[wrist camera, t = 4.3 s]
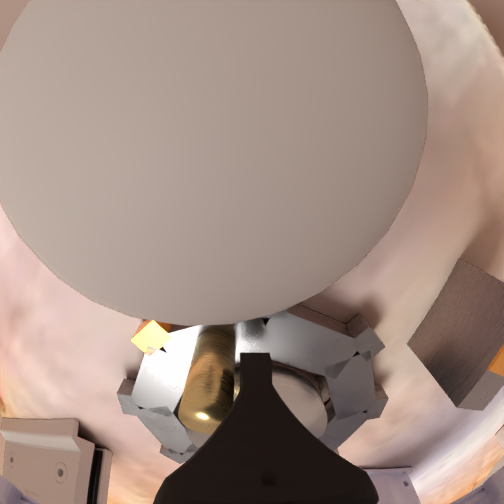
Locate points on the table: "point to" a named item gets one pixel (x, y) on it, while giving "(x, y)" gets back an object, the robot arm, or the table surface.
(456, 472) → the table surface
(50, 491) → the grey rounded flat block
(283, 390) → the hub
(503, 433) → the eye dropper bottle
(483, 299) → the marked link
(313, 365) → the sprocket
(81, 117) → the lightbulb
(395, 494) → the robot arm
